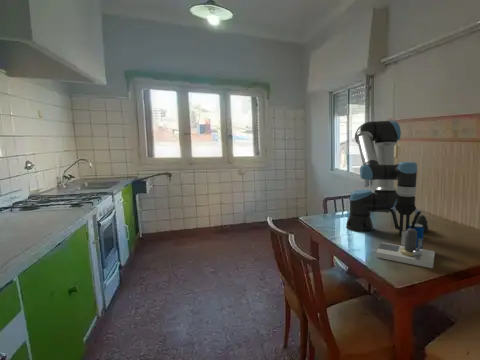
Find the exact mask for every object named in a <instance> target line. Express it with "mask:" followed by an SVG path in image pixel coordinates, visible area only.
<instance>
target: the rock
mask: <svg viewBox="0 0 480 360" xmlns="http://www.w3.org/2000/svg"><path fill="white" fill-rule="evenodd" d="M411 223H413V220H412V221H411ZM415 224H421V225H423V228H424V231H423V233H427V232H428V231H429V230H430V229H429V226H428V225H429V224H428V220H427V218H426V216H425V214H420V215H419V216H418V218H417V221H416V223H415Z"/></svg>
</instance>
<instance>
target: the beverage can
mask: <svg viewBox="0 0 480 360" xmlns="http://www.w3.org/2000/svg"><path fill="white" fill-rule="evenodd" d="M411 225H412V222H410V223H409V228H411ZM414 229H415V231H417V241H416V248H417V247H418V238H421V239H422V246H421V248H420V249H423V246H424V245H423V243H424V232H423V231H424V228H423V225H421V224H415V226H414Z"/></svg>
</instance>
